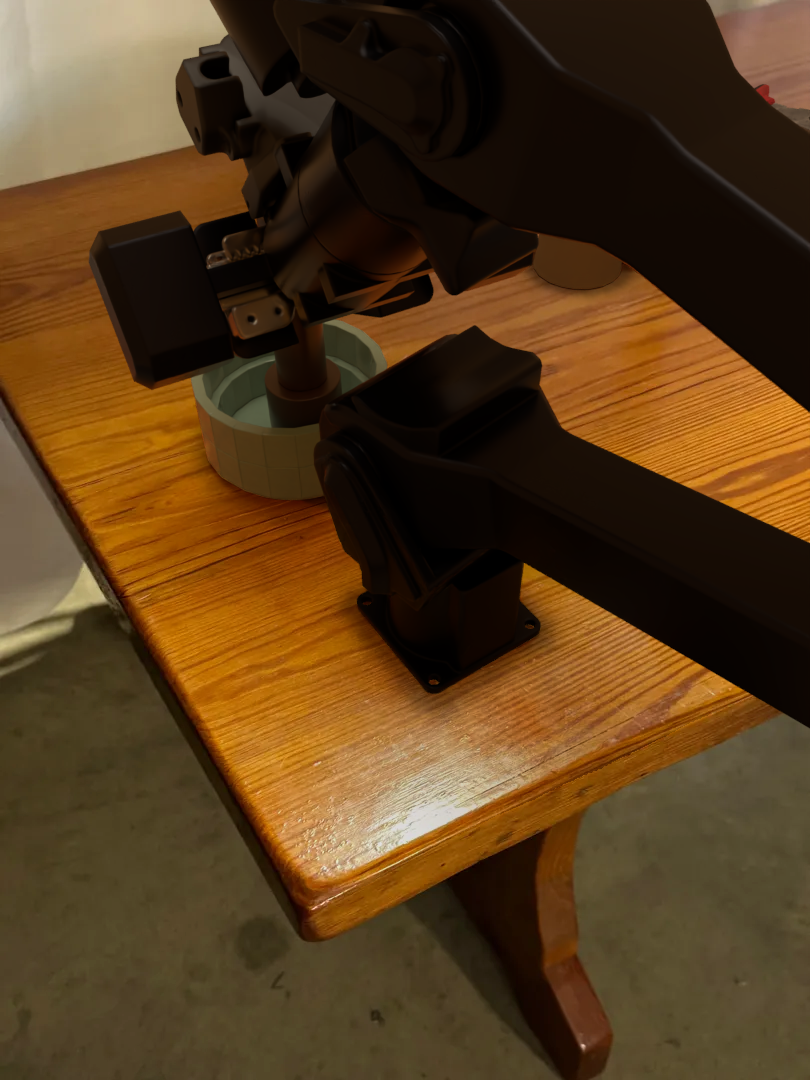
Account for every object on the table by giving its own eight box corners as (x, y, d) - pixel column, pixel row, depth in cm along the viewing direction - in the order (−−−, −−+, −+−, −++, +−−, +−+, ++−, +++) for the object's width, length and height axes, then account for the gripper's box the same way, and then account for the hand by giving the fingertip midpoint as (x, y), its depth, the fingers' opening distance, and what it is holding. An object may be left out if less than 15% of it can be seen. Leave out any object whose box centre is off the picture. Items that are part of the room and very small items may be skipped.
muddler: (358, 425, 54) (344, 212, 45) (295, 454, 52) (267, 240, 43) (318, 387, 56) (298, 178, 47) (257, 415, 55) (223, 203, 45)
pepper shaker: (518, 275, 67) (532, 113, 59) (552, 233, 71) (570, 75, 63) (603, 298, 65) (630, 134, 57) (633, 254, 69) (663, 93, 61)
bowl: (424, 457, 55) (425, 386, 51) (261, 534, 51) (249, 463, 47) (328, 364, 61) (323, 293, 57) (175, 426, 57) (159, 355, 53)
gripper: (523, -70, 38) (395, 109, 53) (30, 22, 32) (42, 194, 47) (617, 214, 39) (465, 311, 54) (155, 353, 33) (128, 419, 48)
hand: (285, 304), depth 50 cm, fingers closed on muddler, 2 cm apart
